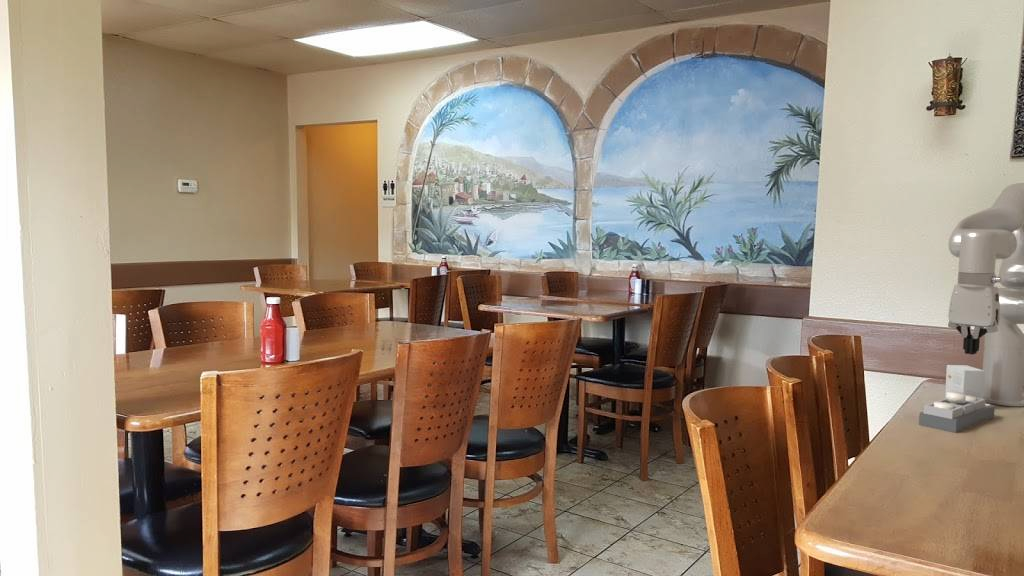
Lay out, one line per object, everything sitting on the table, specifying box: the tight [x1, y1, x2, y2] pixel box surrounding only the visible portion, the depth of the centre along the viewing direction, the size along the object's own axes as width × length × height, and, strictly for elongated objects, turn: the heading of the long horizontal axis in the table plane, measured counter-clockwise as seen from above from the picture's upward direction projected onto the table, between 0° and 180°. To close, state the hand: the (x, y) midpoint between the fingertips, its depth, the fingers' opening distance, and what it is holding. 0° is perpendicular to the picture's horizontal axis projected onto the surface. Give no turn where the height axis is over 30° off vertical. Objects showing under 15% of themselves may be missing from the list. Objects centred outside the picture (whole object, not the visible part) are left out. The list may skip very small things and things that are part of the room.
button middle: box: [946, 391, 966, 403], centre depth 173 cm, size 4×4×2 cm
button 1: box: [933, 401, 954, 410], centre depth 168 cm, size 4×4×2 cm
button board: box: [918, 397, 996, 434], centre depth 174 cm, size 24×8×5 cm, turn 128°
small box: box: [944, 364, 985, 399], centre depth 190 cm, size 8×6×10 cm
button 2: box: [966, 395, 977, 402], centre depth 177 cm, size 4×4×2 cm
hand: (970, 353), depth 176 cm, fingers closed
